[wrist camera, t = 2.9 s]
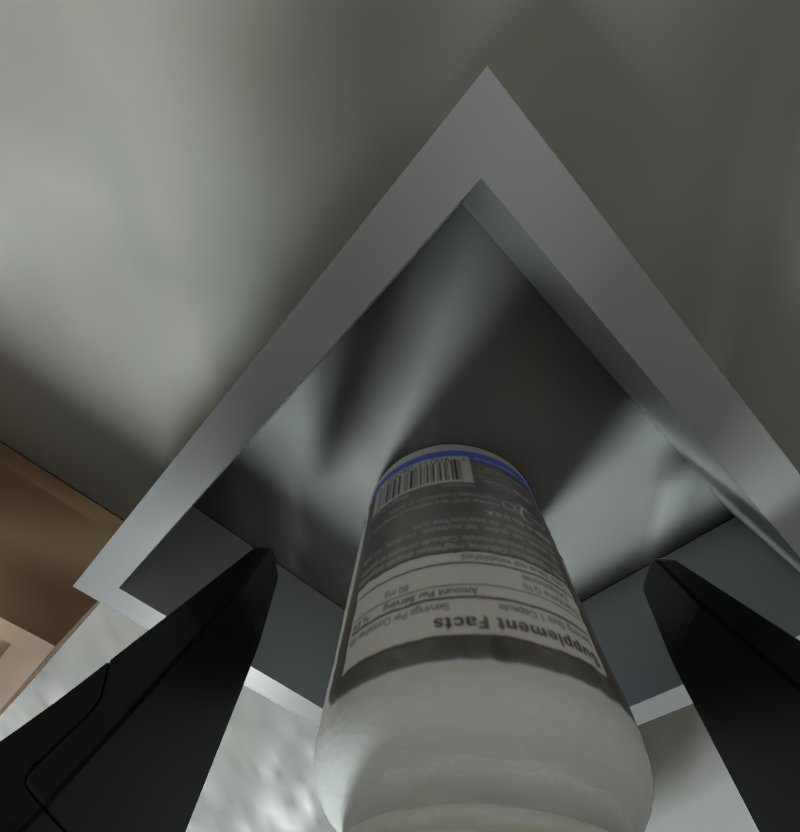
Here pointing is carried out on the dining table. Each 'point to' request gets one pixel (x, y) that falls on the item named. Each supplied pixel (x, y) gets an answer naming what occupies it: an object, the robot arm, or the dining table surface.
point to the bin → (586, 316)
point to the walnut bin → (42, 567)
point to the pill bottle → (471, 670)
